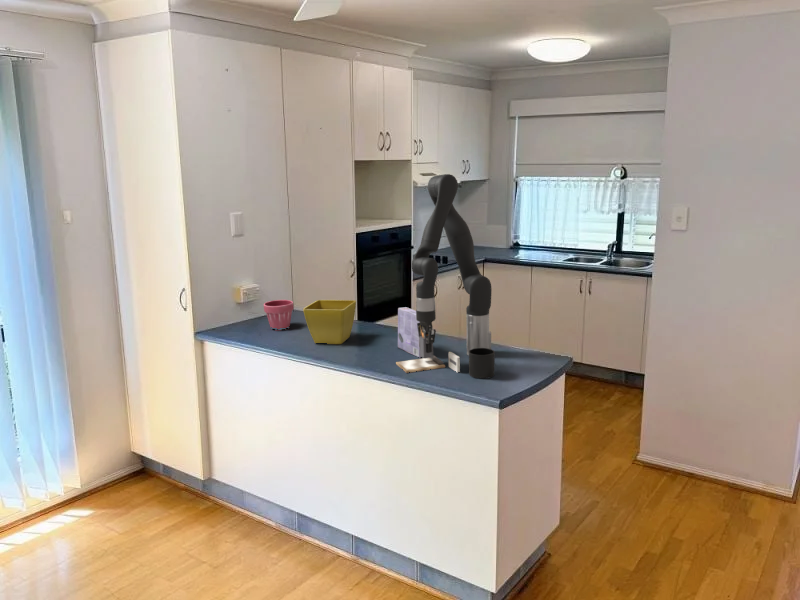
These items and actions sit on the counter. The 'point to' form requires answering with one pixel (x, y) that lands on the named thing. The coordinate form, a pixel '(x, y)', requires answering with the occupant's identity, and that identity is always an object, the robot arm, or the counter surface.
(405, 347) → the cake pan box
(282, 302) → the plant pot
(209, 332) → the counter surface
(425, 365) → the clipboard
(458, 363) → the block
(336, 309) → the flower pot
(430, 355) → the ball-topped gray post
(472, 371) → the mug
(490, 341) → the robot arm
